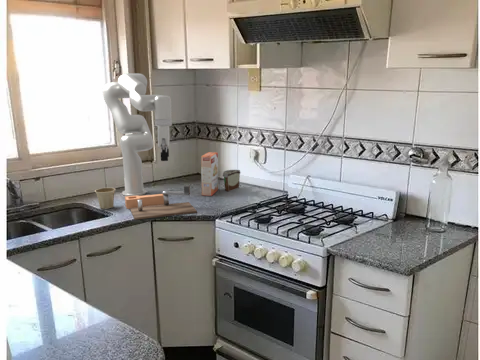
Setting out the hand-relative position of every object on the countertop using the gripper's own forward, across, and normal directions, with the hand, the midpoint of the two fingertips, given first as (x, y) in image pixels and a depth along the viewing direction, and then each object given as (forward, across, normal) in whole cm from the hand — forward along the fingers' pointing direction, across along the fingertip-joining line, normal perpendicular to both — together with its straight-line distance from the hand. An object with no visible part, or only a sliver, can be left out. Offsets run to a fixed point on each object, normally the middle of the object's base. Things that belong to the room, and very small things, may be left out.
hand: (165, 158), depth 223 cm
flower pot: (+23, 0, -29) cm, 37 cm away
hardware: (+22, +7, -6) cm, 24 cm away
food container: (+23, -27, +33) cm, 48 cm away
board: (+23, +11, -1) cm, 25 cm away
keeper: (+16, +4, +5) cm, 18 cm away
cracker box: (+23, -20, +22) cm, 38 cm away
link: (+23, -1, -10) cm, 25 cm away
